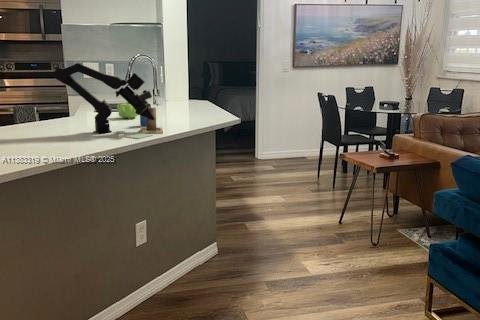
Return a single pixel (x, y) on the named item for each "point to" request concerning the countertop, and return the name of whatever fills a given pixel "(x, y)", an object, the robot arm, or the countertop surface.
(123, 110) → the green cabbage
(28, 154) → the countertop surface
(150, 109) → the walnut dowel
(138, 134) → the pad
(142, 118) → the perfume bottle
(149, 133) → the trap frame
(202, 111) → the countertop surface
